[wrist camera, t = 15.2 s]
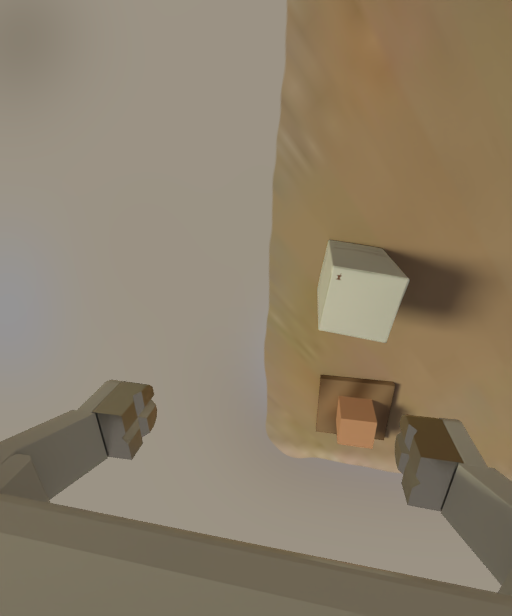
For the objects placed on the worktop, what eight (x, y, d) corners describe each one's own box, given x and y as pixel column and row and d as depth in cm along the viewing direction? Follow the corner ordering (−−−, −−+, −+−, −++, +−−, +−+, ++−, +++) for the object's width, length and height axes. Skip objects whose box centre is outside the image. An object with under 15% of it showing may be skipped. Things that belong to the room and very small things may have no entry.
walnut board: (393, 382, 47) (395, 386, 46) (382, 435, 52) (383, 440, 51) (320, 374, 49) (320, 378, 48) (316, 426, 53) (316, 431, 53)
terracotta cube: (371, 399, 48) (377, 422, 43) (367, 423, 50) (372, 448, 45) (338, 395, 49) (340, 418, 44) (336, 419, 51) (337, 443, 46)
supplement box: (316, 289, 44) (315, 330, 32) (328, 238, 41) (332, 263, 29) (368, 299, 43) (386, 345, 31) (385, 248, 40) (411, 278, 28)
